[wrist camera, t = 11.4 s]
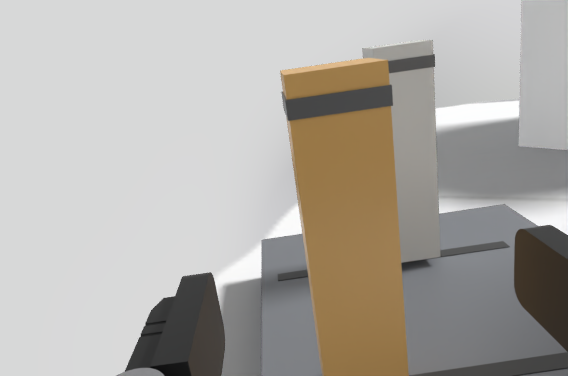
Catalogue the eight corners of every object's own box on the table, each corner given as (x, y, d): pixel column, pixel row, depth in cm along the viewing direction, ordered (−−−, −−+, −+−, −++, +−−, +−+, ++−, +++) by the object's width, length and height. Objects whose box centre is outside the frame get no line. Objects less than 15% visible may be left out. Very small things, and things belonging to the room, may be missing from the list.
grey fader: (426, 238, 28) (416, 40, 25) (441, 257, 26) (434, 39, 22) (377, 246, 28) (361, 48, 25) (388, 265, 26) (372, 48, 22)
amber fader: (392, 353, 19) (369, 57, 15) (411, 399, 16) (390, 59, 13) (318, 363, 19) (278, 70, 15) (327, 411, 16) (281, 75, 13)
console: (503, 241, 34) (504, 203, 33) (894, 555, 13) (925, 476, 12) (267, 276, 34) (261, 239, 33) (276, 647, 13) (260, 575, 12)
